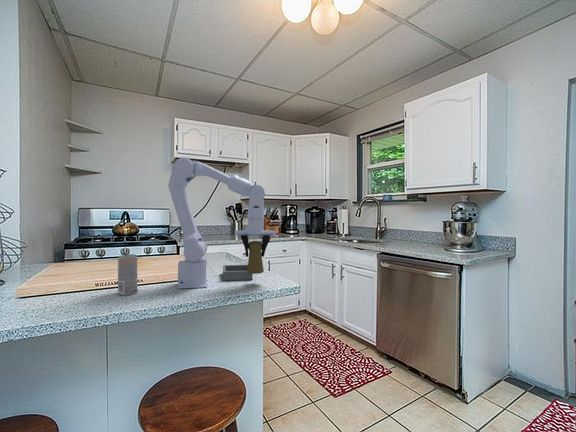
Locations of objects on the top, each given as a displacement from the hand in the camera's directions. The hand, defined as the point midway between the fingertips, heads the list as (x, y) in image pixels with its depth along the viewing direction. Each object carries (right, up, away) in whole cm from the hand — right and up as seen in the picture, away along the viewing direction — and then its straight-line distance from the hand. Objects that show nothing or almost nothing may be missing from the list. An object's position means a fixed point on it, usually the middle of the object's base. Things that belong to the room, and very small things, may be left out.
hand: (254, 256), depth 103 cm
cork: (0, -6, 0) cm, 6 cm away
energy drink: (-39, -10, -12) cm, 42 cm away
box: (-8, -10, +10) cm, 16 cm away
